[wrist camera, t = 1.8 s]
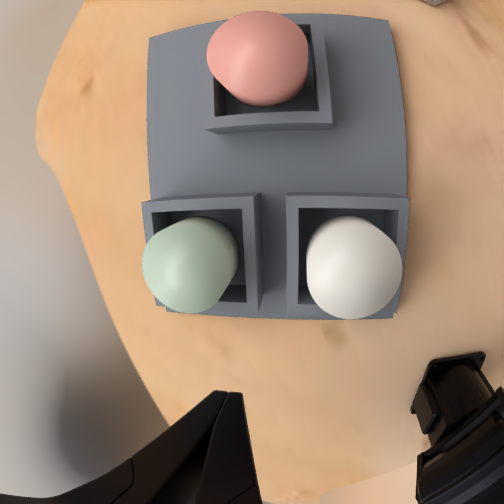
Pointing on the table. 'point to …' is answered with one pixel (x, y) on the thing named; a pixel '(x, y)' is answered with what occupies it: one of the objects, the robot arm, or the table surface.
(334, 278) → the button ivory
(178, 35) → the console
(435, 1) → the flask
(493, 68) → the table surface
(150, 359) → the table surface
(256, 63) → the button coral
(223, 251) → the button sage
